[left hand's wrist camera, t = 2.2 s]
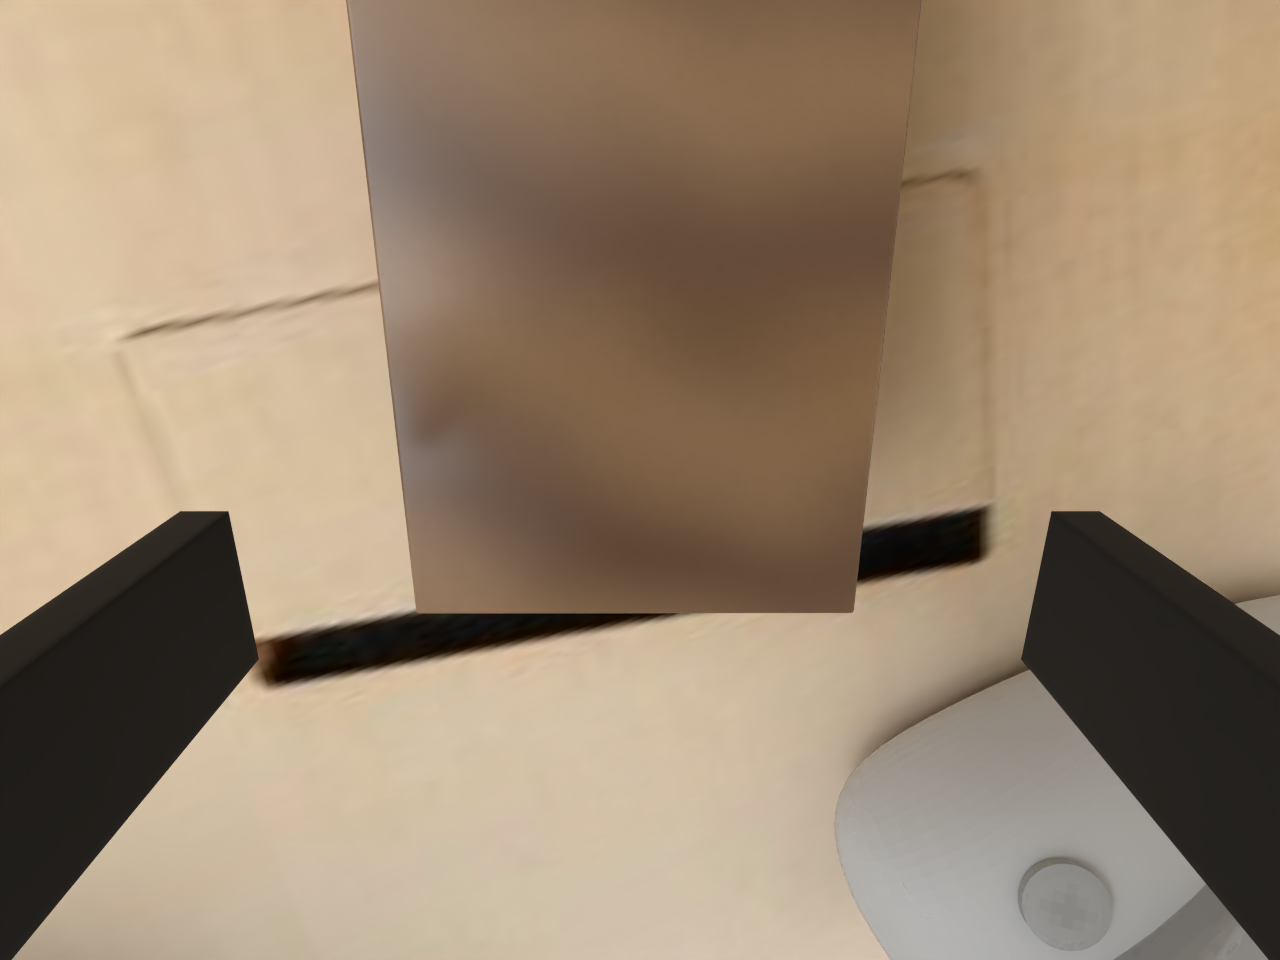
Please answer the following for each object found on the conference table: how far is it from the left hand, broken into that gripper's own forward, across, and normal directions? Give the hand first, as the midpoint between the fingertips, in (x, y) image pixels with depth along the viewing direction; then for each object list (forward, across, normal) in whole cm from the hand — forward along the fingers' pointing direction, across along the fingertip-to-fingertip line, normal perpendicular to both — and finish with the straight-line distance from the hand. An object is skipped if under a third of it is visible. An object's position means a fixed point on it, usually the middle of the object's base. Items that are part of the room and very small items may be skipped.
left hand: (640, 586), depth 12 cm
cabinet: (+18, 0, -6) cm, 18 cm away
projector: (+18, -20, +18) cm, 32 cm away
